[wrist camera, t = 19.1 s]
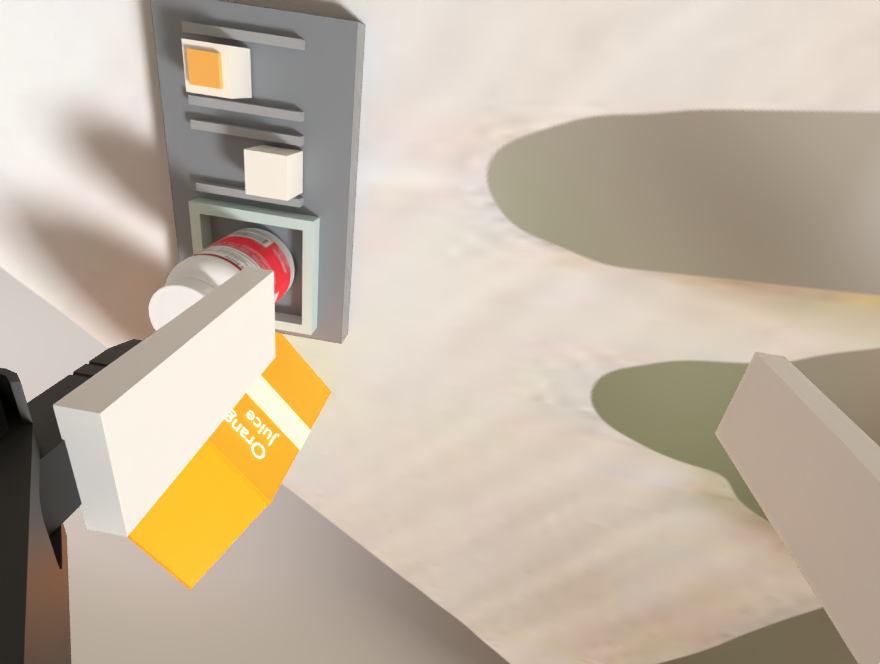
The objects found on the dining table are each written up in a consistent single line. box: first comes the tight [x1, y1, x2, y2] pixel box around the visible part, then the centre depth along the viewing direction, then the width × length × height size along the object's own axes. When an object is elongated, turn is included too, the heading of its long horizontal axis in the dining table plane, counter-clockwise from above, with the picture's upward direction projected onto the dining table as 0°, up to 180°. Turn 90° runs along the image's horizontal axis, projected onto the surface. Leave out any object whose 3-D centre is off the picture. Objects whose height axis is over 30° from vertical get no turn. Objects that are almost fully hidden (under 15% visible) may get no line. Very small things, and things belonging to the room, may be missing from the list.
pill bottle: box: [148, 228, 295, 331], centre depth 35 cm, size 6×6×11 cm
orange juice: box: [128, 332, 331, 590], centre depth 39 cm, size 8×9×20 cm
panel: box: [150, 0, 365, 344], centre depth 38 cm, size 24×14×4 cm, turn 172°
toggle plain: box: [244, 145, 303, 201], centre depth 35 cm, size 3×3×3 cm
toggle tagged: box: [181, 38, 252, 99], centre depth 32 cm, size 3×3×3 cm
